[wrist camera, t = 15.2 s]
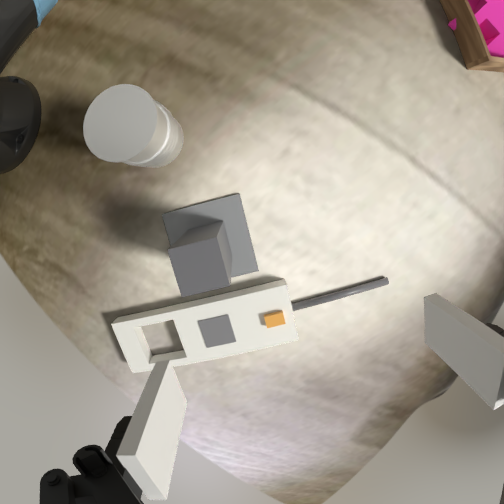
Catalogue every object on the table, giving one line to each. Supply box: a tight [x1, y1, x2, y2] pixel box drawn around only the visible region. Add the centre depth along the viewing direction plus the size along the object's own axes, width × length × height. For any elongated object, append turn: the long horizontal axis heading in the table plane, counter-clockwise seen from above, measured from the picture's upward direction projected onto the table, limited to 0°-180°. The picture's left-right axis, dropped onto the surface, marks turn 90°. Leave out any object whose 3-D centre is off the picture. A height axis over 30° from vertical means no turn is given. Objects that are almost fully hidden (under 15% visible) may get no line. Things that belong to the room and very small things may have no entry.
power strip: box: [111, 277, 389, 373], centre depth 42 cm, size 38×8×3 cm, turn 104°
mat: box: [162, 194, 259, 277], centre depth 41 cm, size 10×10×1 cm
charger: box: [168, 221, 233, 297], centre depth 35 cm, size 5×5×12 cm
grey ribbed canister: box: [83, 84, 184, 168], centre depth 31 cm, size 7×7×15 cm
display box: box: [440, 0, 504, 72], centre depth 32 cm, size 14×16×6 cm
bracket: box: [448, 0, 504, 58], centre depth 30 cm, size 12×10×10 cm
